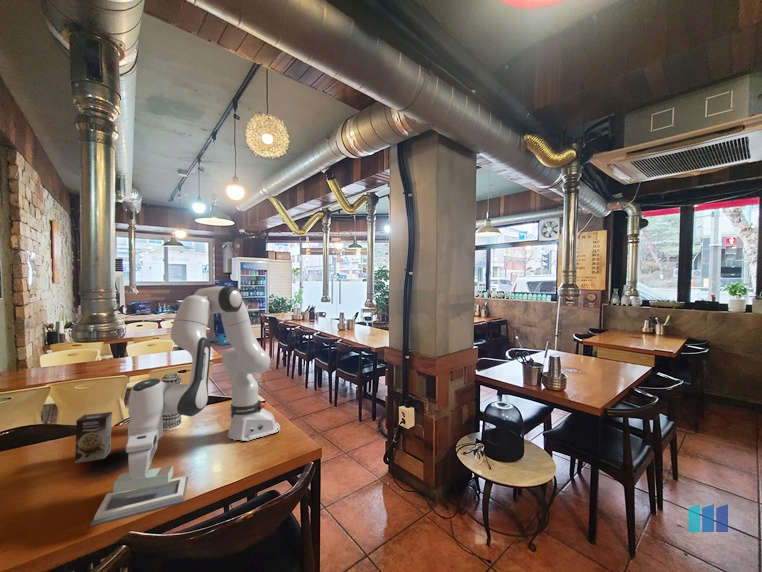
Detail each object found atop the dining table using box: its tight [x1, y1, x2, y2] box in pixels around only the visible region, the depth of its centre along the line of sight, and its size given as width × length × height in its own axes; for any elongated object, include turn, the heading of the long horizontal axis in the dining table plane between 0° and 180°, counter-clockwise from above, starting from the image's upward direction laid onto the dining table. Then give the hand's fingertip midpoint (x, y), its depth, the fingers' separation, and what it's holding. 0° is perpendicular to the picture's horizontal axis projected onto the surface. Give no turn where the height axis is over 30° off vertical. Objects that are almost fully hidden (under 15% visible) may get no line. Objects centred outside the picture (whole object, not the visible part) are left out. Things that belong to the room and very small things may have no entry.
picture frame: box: [89, 475, 189, 527], centre depth 98 cm, size 22×14×2 cm, turn 117°
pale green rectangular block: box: [112, 465, 174, 493], centre depth 98 cm, size 5×14×3 cm, turn 109°
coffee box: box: [74, 411, 113, 464], centre depth 122 cm, size 9×6×16 cm
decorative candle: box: [161, 372, 182, 431], centre depth 149 cm, size 9×9×25 cm
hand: (144, 477), depth 98 cm, fingers closed on pale green rectangular block, 5 cm apart
